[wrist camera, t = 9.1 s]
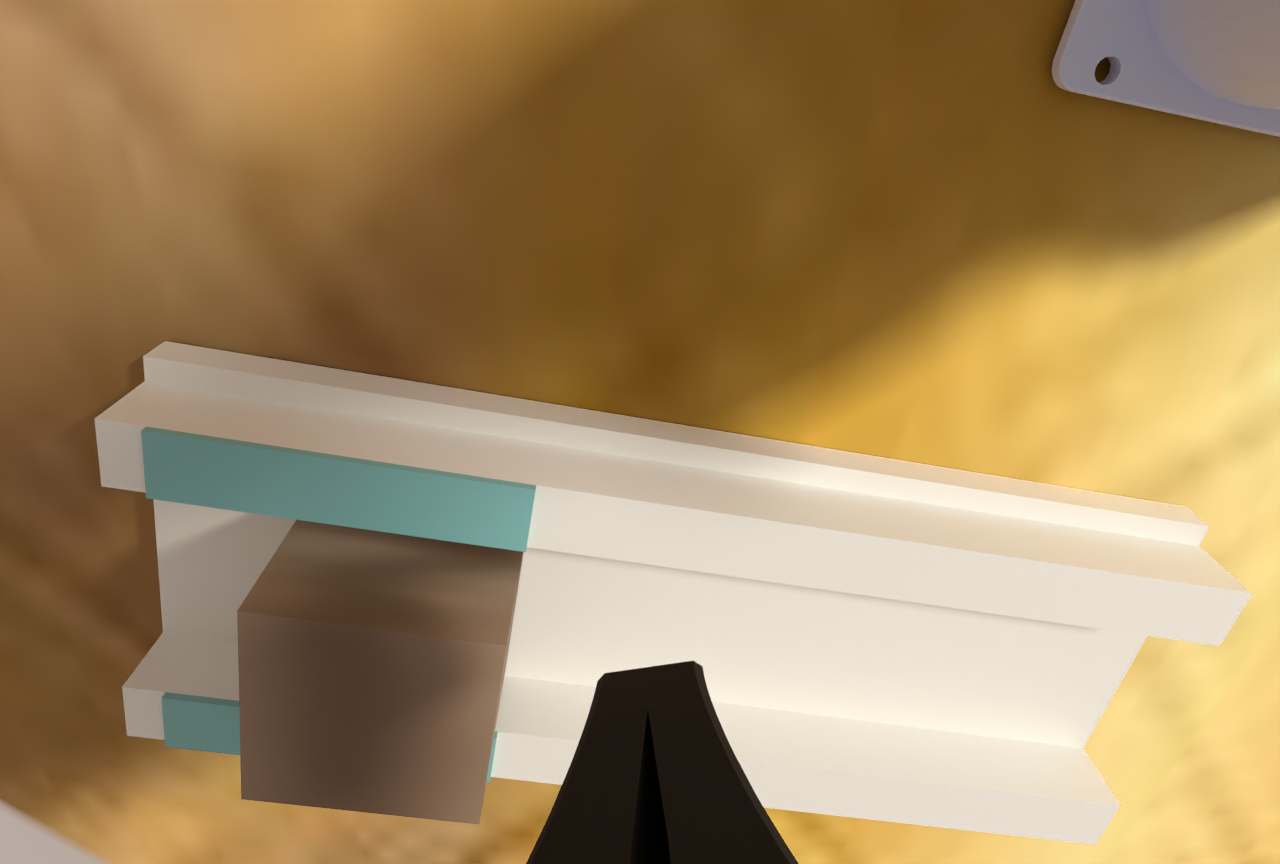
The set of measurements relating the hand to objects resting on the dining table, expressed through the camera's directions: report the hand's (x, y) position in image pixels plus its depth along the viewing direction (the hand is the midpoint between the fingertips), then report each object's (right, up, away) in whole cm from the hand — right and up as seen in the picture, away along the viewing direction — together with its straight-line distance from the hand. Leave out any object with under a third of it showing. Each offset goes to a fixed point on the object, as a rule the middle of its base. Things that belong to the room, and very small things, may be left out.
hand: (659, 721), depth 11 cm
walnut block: (-6, 0, +10) cm, 11 cm away
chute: (+1, 0, +11) cm, 11 cm away
